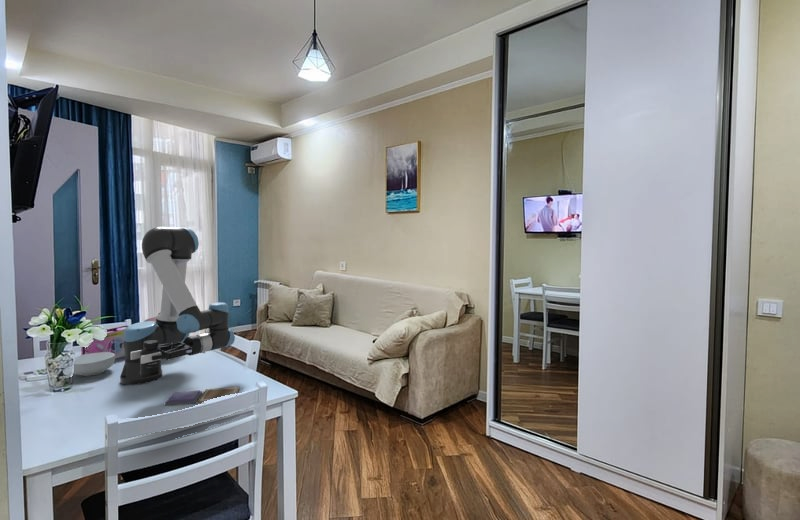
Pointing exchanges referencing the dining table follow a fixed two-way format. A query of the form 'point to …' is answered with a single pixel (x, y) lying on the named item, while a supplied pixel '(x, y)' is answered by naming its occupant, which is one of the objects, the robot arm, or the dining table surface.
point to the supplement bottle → (153, 366)
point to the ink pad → (184, 397)
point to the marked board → (217, 393)
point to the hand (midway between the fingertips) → (136, 357)
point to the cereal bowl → (93, 363)
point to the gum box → (108, 343)
